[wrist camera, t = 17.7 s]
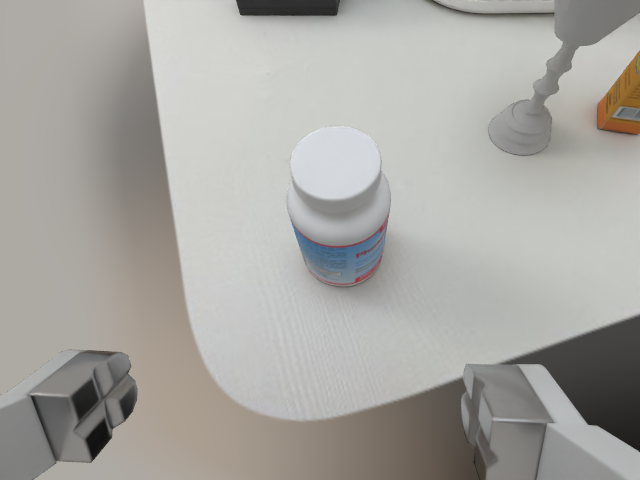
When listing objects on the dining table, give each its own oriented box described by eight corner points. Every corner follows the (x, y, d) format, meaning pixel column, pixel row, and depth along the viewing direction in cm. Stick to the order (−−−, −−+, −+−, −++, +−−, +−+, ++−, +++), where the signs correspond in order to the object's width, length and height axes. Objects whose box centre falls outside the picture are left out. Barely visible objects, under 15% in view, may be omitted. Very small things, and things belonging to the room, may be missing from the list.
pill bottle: (374, 296, 26) (387, 224, 15) (295, 279, 27) (258, 202, 17) (388, 224, 28) (406, 121, 18) (314, 212, 29) (292, 108, 19)
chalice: (494, 171, 29) (666, -121, 13) (463, 113, 32) (573, -184, 16) (579, 153, 29) (858, -163, 13) (541, 96, 32) (729, -218, 16)
